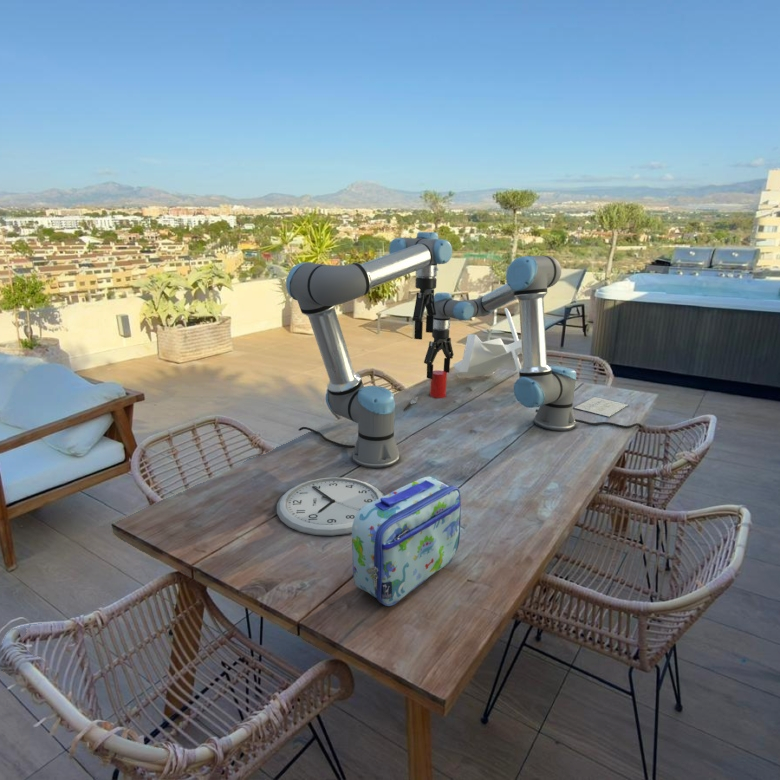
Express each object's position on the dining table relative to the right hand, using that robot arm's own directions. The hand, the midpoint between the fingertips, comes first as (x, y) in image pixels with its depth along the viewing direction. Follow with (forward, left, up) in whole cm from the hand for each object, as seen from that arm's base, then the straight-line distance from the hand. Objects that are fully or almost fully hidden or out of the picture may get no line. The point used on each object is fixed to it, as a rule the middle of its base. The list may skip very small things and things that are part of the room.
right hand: (438, 375), depth 235 cm
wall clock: (+25, +103, -10) cm, 107 cm away
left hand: (+5, +37, +25) cm, 45 cm away
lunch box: (+2, +131, -10) cm, 132 cm away
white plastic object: (-26, -21, -10) cm, 34 cm away
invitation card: (-71, +4, -10) cm, 72 cm away
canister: (0, 0, -10) cm, 10 cm away
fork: (+11, +17, -10) cm, 23 cm away
